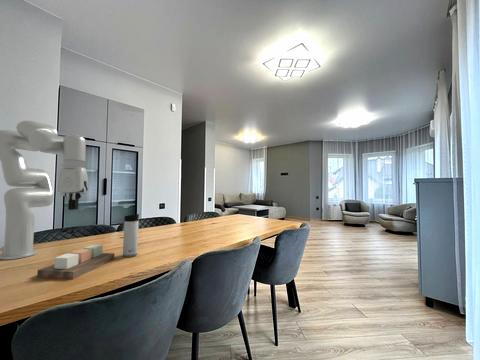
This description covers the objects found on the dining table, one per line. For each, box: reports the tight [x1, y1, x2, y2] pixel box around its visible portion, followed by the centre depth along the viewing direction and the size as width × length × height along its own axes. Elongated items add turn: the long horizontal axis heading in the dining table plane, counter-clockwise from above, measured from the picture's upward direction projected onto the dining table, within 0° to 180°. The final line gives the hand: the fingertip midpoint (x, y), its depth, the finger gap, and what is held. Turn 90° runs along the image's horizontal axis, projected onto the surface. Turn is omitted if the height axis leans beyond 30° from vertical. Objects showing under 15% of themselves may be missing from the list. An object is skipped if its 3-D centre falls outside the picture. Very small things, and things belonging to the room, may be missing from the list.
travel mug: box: [122, 213, 140, 258], centre depth 104 cm, size 6×7×20 cm
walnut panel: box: [36, 252, 115, 280], centre depth 88 cm, size 14×22×2 cm, turn 175°
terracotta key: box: [69, 248, 91, 263], centre depth 88 cm, size 5×5×4 cm
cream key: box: [53, 253, 79, 269], centre depth 82 cm, size 5×5×4 cm
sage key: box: [82, 244, 103, 258], centre depth 95 cm, size 5×5×4 cm
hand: (73, 209), depth 89 cm, fingers closed
